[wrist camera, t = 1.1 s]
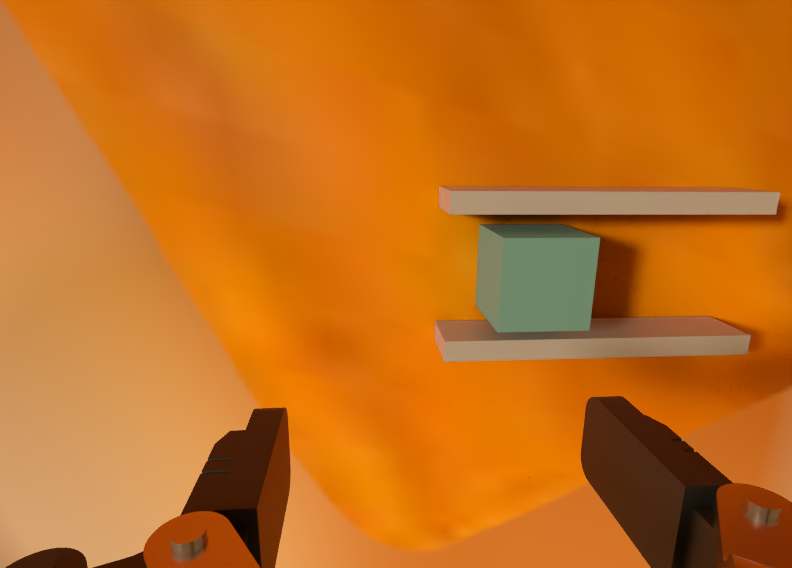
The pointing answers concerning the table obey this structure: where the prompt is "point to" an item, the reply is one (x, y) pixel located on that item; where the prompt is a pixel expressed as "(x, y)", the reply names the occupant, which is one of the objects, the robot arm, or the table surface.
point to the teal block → (536, 277)
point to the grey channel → (605, 333)
